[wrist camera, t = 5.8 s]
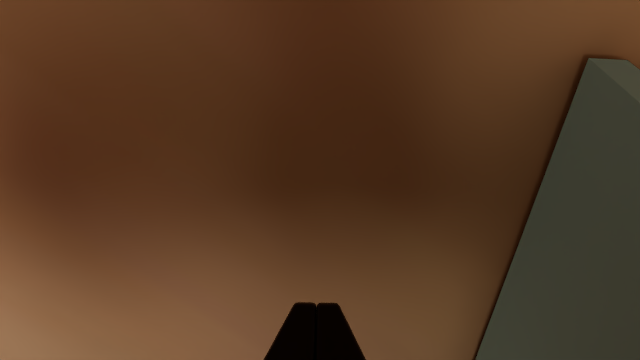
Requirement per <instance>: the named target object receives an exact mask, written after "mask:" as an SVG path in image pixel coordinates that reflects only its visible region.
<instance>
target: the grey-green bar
mask: <svg viewBox="0 0 640 360" xmlns="http://www.w3.org/2000/svg"><path fill="white" fill-rule="evenodd" d="M475 360H640V70H639V69H638V68H637V67H636V66H634V65H633V64H632V63H630V62H629V61H628V60H616V59H597V58H588V61H587V63H586V66H585V69H584V71H583V74H582V77H581V79H580V82H579V85H578V87H577V90H576V93H575V95H574V98H573V101H572V103H571V106H570V109H569V111H568V114H567V117H566V119H565V122H564V125H563V127H562V130H561V133H560V135H559V138H558V141H557V143H556V146H555V149H554V151H553V154H552V157H551V159H550V162H549V165H548V167H547V170H546V173H545V175H544V178H543V181H542V183H541V186H540V189H539V191H538V194H537V197H536V199H535V202H534V205H533V207H532V210H531V213H530V215H529V218H528V221H527V223H526V226H525V229H524V231H523V234H522V237H521V239H520V242H519V245H518V247H517V250H516V253H515V255H514V258H513V261H512V263H511V266H510V269H509V271H508V274H507V277H506V279H505V282H504V284H503V287H502V290H501V292H500V295H499V298H498V300H497V303H496V306H495V308H494V311H493V314H492V316H491V319H490V322H489V324H488V327H487V330H486V332H485V335H484V338H483V340H482V343H481V346H480V348H479V351H478V354H477V356H476V359H475Z"/></svg>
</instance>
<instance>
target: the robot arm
mask: <svg viewBox="0 0 640 360" xmlns="http://www.w3.org/2000/svg"><path fill="white" fill-rule="evenodd" d="M264 360H366V359H365V357H364V355H363V353H362V351H361V349H360V347H359V345H358V343H357V341H356V339H355V337H354V335H353V333H352V330H351V328H350V326H349V324H348V322H347V320H346V318H345V316H344V314H343V312H342V310H341V308H340V306H339V305H338V304H337V303H318V304H317V308H316V305H315V303H312V302H297V303H295V304H294V305H293V307H292V309H291V310H290V312H289V314H288V316H287V318H286V320H285V321H284V323H283V325H282V327H281V329H280V331H279V332H278V334H277V336H276V338H275V340H274V342H273V343H272V345H271V347H270V349H269V351H268V353H267V355H266V356H265V358H264Z"/></svg>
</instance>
